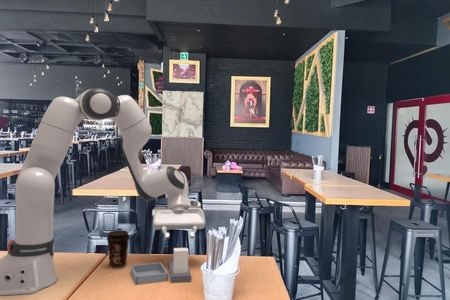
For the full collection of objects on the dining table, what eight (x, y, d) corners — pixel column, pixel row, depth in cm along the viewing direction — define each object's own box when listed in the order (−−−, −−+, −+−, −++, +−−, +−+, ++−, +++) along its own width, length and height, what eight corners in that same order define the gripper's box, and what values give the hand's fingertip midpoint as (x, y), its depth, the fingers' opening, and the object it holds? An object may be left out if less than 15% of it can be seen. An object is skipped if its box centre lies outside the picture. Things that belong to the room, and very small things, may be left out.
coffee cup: (106, 262, 139) (107, 229, 138) (128, 261, 141) (129, 229, 141) (106, 270, 130) (107, 236, 130) (129, 269, 133) (130, 234, 133)
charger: (173, 280, 124) (174, 251, 123) (172, 276, 127) (173, 248, 127) (187, 279, 125) (188, 250, 124) (186, 275, 128) (187, 247, 128)
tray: (136, 285, 119) (136, 276, 118) (130, 273, 129) (131, 265, 128) (168, 281, 123) (168, 272, 123) (160, 270, 133) (160, 262, 133)
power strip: (191, 282, 123) (191, 273, 123) (170, 283, 121) (171, 274, 121) (186, 266, 138) (186, 258, 138) (168, 266, 137) (168, 258, 137)
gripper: (152, 202, 137) (151, 234, 128) (204, 202, 141) (207, 233, 132) (151, 211, 141) (151, 243, 132) (202, 211, 146) (205, 241, 136)
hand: (179, 238), depth 132 cm, fingers open, 8 cm apart
